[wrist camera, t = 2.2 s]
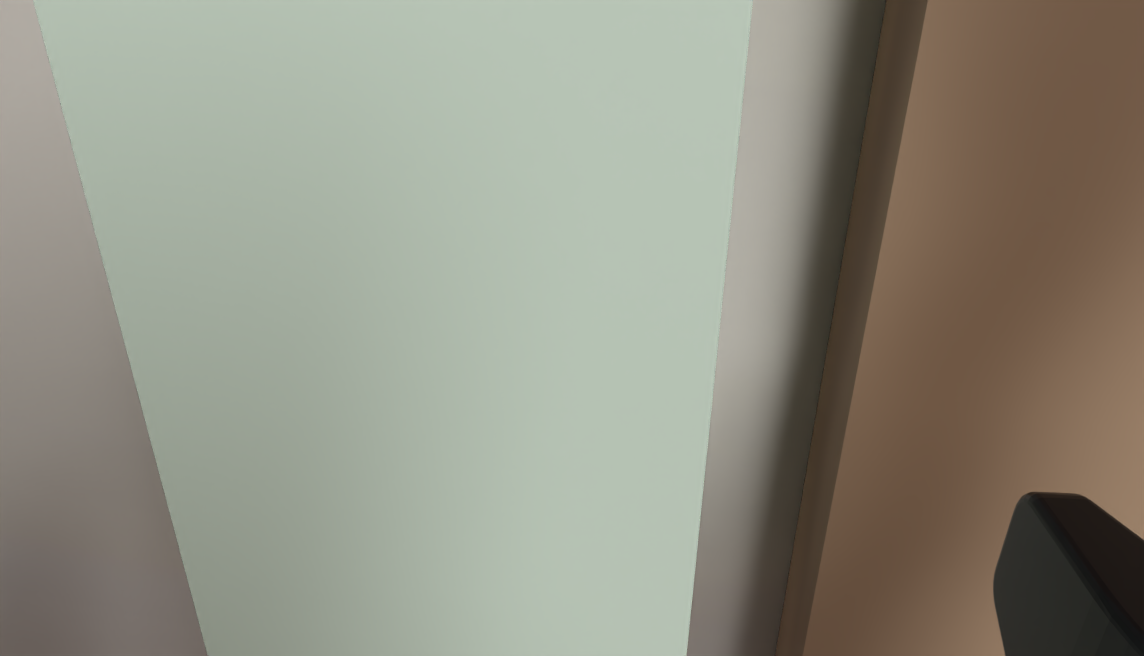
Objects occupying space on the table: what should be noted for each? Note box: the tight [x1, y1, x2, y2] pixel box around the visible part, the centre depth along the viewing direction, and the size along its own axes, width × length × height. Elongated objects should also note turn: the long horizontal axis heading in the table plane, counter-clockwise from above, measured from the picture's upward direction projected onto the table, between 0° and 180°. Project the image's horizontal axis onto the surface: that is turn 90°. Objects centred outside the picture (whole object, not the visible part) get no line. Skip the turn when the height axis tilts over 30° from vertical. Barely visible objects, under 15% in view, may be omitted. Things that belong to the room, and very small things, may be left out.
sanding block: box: [33, 0, 753, 656], centre depth 10 cm, size 4×12×6 cm, turn 179°
